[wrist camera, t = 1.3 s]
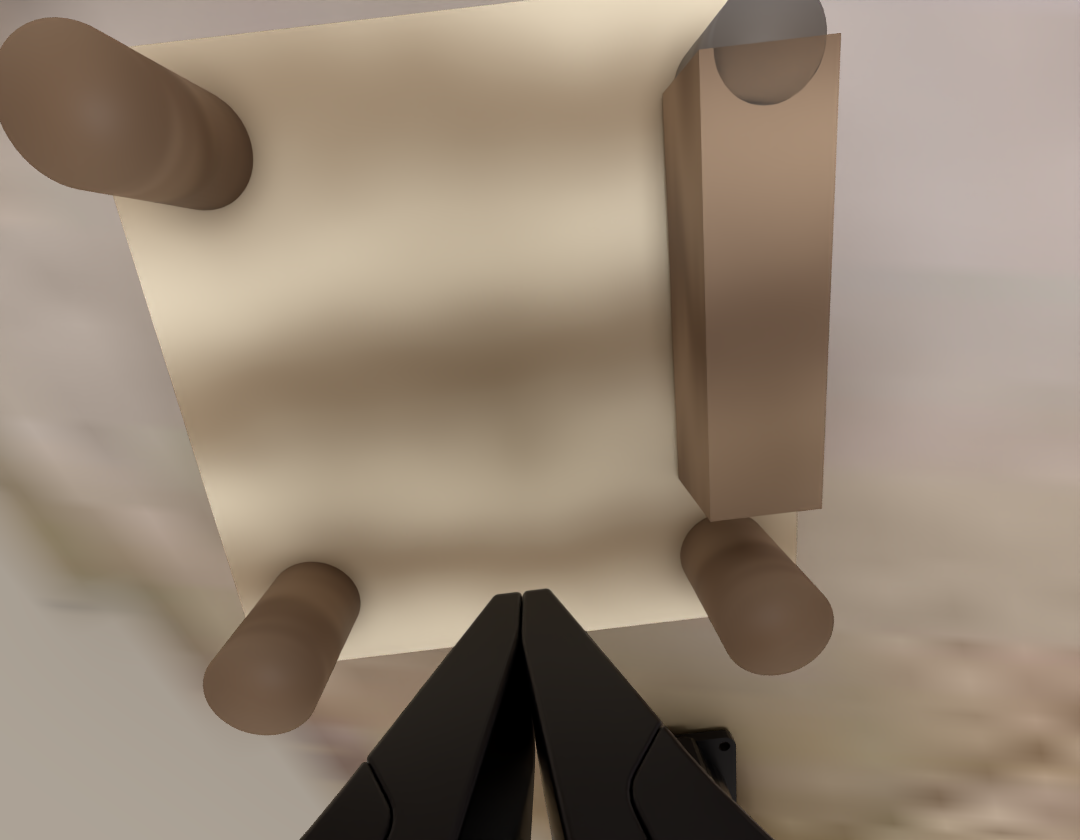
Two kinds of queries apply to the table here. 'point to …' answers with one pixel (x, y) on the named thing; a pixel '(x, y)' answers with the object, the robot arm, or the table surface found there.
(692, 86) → the hinged leg
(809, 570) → the table surface
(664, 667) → the table surface
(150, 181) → the stool seat
